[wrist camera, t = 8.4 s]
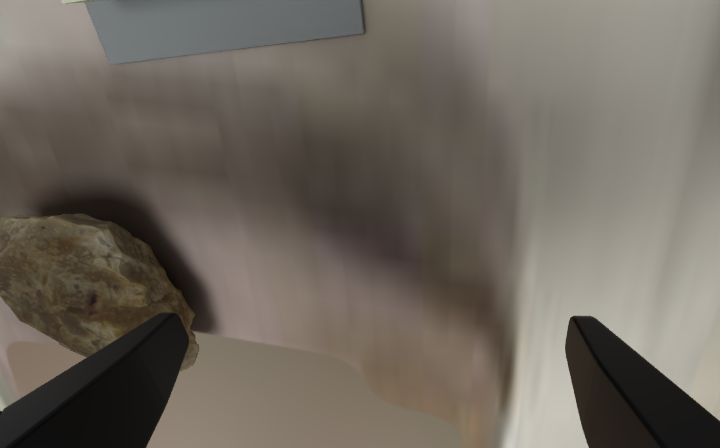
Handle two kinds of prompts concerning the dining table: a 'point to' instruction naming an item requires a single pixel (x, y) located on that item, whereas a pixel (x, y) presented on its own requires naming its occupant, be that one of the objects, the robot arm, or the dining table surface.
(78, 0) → the base block
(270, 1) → the build mat
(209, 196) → the dining table surface
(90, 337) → the stone
